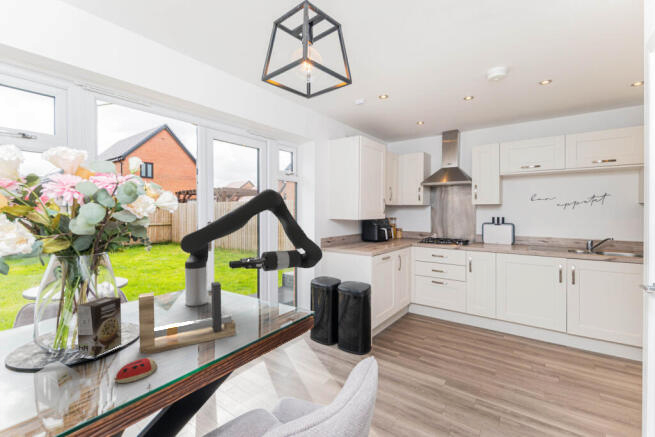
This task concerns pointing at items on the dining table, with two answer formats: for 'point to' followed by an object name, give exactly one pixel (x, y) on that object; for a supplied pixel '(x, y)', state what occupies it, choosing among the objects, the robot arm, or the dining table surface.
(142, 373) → the ladybug figurine
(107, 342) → the coffee box
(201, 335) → the wooden track with post
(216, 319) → the dark gray slab
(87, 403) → the dining table surface
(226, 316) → the silver metal bar
